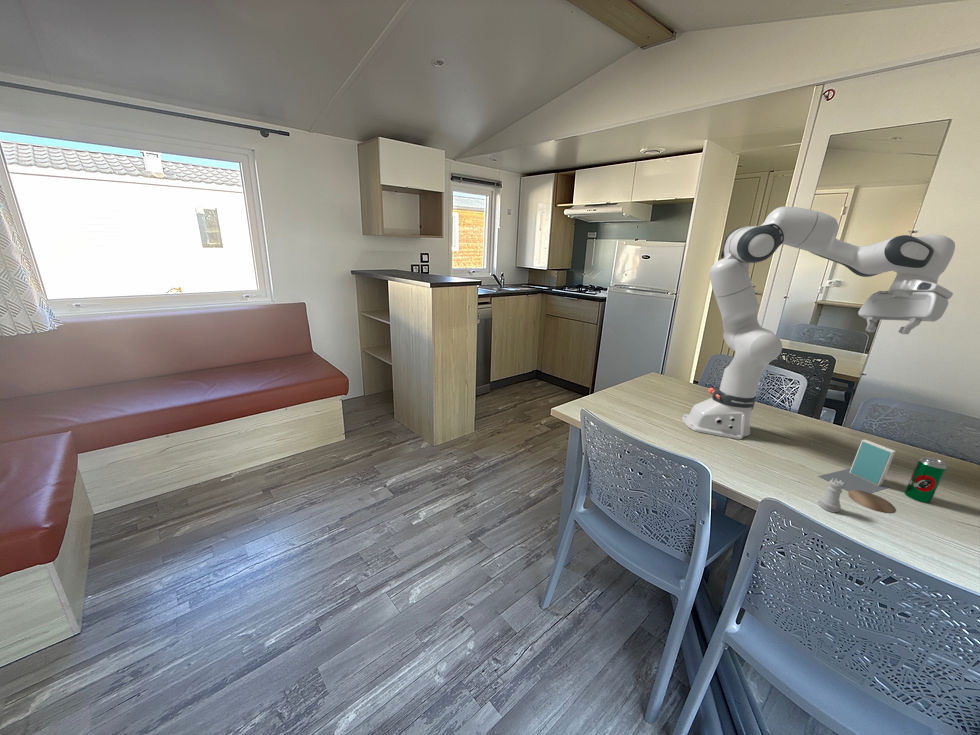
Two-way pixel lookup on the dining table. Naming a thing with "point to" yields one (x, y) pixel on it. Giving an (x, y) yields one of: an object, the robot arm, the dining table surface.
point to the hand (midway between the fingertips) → (885, 332)
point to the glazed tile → (872, 462)
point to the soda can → (925, 479)
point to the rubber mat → (853, 481)
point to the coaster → (871, 501)
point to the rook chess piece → (832, 496)
